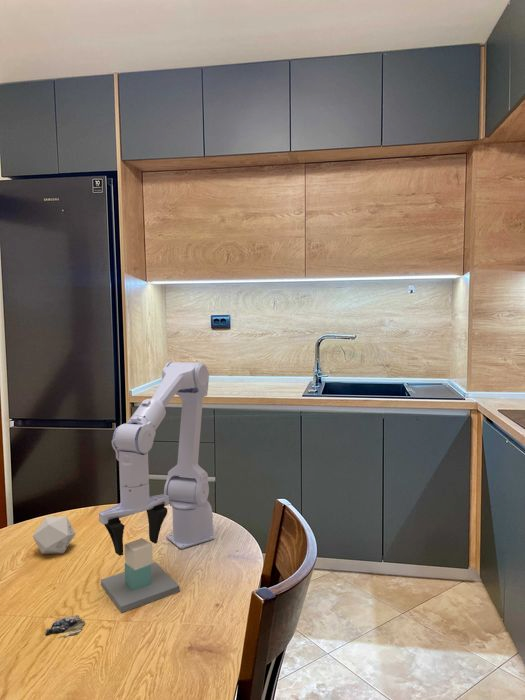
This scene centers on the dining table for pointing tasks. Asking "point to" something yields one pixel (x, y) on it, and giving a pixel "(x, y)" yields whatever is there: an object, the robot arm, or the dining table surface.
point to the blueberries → (66, 626)
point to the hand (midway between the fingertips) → (136, 547)
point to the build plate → (132, 599)
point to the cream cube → (138, 553)
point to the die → (54, 535)
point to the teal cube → (137, 577)
